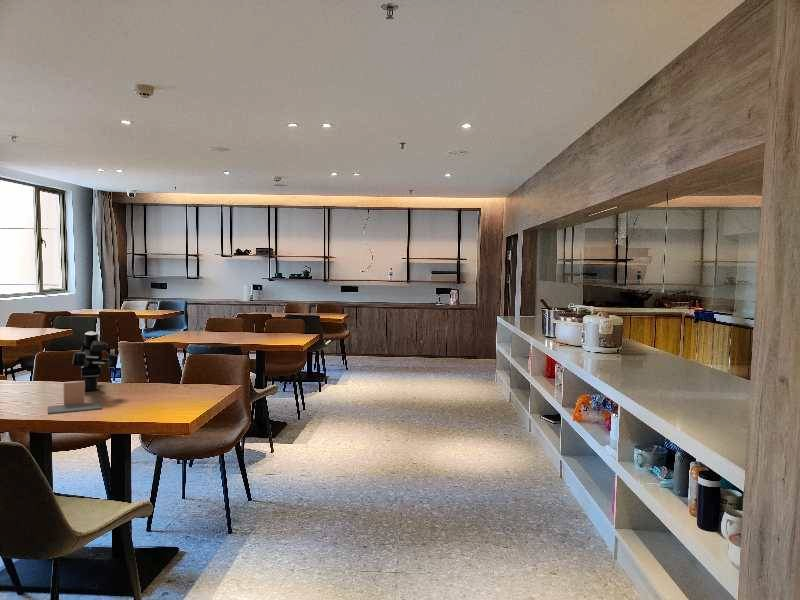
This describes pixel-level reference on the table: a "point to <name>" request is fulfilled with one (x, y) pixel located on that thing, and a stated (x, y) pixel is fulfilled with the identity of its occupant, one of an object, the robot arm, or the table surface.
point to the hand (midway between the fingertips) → (99, 366)
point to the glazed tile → (73, 392)
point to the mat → (74, 407)
